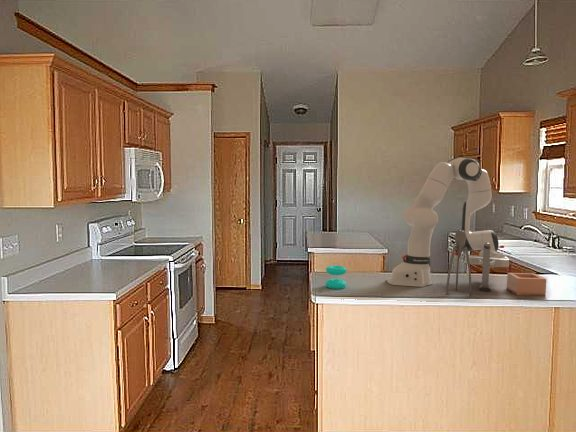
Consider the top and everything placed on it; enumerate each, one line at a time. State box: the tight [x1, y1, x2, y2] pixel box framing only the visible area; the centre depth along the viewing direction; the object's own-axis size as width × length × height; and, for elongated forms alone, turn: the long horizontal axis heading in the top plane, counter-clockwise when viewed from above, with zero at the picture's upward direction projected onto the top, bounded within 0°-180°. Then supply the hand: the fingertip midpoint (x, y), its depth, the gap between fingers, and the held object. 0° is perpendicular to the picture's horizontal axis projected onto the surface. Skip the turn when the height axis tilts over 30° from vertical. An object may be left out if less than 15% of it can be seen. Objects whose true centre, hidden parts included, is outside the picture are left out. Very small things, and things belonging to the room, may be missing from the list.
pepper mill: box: [478, 243, 492, 292], centre depth 252 cm, size 5×5×23 cm
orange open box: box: [506, 272, 547, 297], centre depth 249 cm, size 13×13×8 cm
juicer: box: [445, 229, 472, 297], centre depth 246 cm, size 10×11×30 cm
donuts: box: [325, 265, 347, 290], centre depth 255 cm, size 10×10×10 cm
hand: (486, 263), depth 251 cm, fingers closed on pepper mill, 3 cm apart
